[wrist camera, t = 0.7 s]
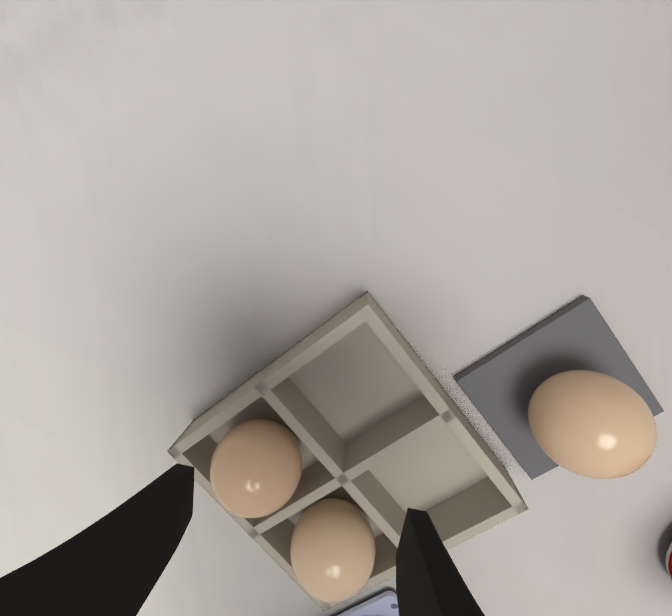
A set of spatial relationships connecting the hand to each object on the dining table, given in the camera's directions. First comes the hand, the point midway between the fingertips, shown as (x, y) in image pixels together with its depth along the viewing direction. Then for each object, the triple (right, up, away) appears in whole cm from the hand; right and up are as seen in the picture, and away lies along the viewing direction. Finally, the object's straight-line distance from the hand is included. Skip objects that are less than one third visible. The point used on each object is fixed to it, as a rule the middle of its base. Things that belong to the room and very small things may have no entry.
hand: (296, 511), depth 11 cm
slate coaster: (+14, +2, +8) cm, 16 cm away
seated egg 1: (-3, -2, +10) cm, 11 cm away
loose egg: (+14, +2, +8) cm, 16 cm away
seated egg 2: (+1, -7, +11) cm, 13 cm away
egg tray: (+2, -2, +10) cm, 11 cm away
